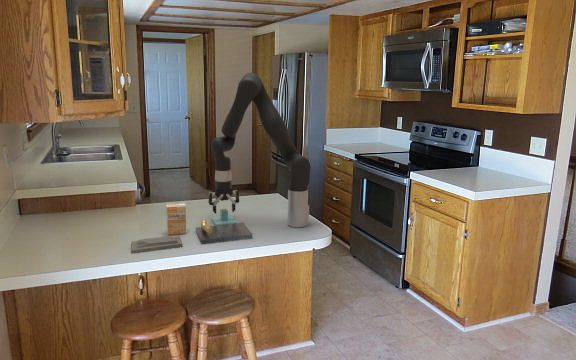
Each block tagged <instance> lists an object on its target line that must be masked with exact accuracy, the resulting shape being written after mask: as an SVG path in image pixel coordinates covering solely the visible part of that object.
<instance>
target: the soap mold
mask: <svg viewBox="0 0 576 360" xmlns="http://www.w3.org/2000/svg"><path fill="white" fill-rule="evenodd" d="M130 246H131V247H132V248H131V254H132V253H134V254H141V252H142V253H149V252H155V251H163V250H165V251H166V250H172V249H173V248H174V249H179V248H180V247H181V248H183V247H184V246H183V241H182V238H181V236H179V235H178V236H172V235H166V236H159V237H150V238H140V239H138V240H134V241H131V242H130ZM181 248H180V249H181Z"/></svg>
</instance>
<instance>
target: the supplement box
mask: <svg viewBox="0 0 576 360" xmlns="http://www.w3.org/2000/svg"><path fill="white" fill-rule="evenodd" d="M186 208H187V207H186V203H184V202H183V203H167V204H166V228H167V230H166V231H167V236H174V235H186V234H187V211H186V210H187V209H186Z"/></svg>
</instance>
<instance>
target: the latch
mask: <svg viewBox="0 0 576 360" xmlns="http://www.w3.org/2000/svg"><path fill="white" fill-rule="evenodd" d="M210 226H211V225H209V223H208V222H207V220H206V219H202V220H201V219H200V227H201V230H202V231H206V232H207V233H212V228H211V227H210Z"/></svg>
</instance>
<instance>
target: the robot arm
mask: <svg viewBox="0 0 576 360" xmlns="http://www.w3.org/2000/svg"><path fill="white" fill-rule="evenodd" d="M252 102H253V103H254V106H255V107H256V110H257V113H258V116H259V120H260V123H261V125H262V128H263V130H264V131H265V133H266V135H267V136H268V137H269V139H270V140H271V142H272V143H273V145H274V146H275V148H277V150H278V152H279V153H280V156H281V157H282V159H283V162H284V164H285V166H286V169H287V170H288V172H290V182H289V183H288V185H287V225H288V226H289V227H291V228H305V227H307V226H309V225H310V205H309V204H308V203H309V201H308V199H309V185H310V181H311V163H310V162H311V161H310V160H309V159H308V158H307V157H305V156H304V155H302V154H301V153H300V152H299V150H297V148H296V146H295V145H294V143H293V141H292V138H291V133H290V131H289V128H288V126H287V124H286V122H285V121H284V118H283V117H282V116H281V114H280V112H279V111H278V109H277V108H276V106H275V104H274V103H273V101H272V100H271V98H270V96H269V94H268V92H267V90H266V87H265V85H264V83H263V81H262V79H261V78H260V76H259V75H257V74H256V73H253V72H248V73H246V74H244V75H243V76H242V78H241V79H240V80H239V81H238V86H237V89H236V93H235V97H234V100H233V103H232V106H231V108H230V109H229V112H228V114H227V115H226V118H225V120H224V122H223V124H222V126H221V129H220V130H221V134H223V136H218V137H214V138H213V139H212V141H211V144H210V145H211V146H210V147H211V152H212V155H213V158H214V161H215V162H214V165H215V173H214V174H215V175H214V181H215V183H214V184H215V190H214V192H213V191H208V204H209V206H212V212H213V213H214V214H217V204H218V203H219V202H220V201H221V202H222V201H223V202H224V201H228V200H229V201H230V203H231V212H232V213H234V212H235V211H236V204H239V203H240V194H239V190H238V189H234V190H233V187H232V184H233V183H232V179H233V178H232V168H231V166H232V165H231V158H230V157H229V156H225V153H224V152H229V151H231V150H233V148H234V146H235V144H236V136H237V132H238V130H239V129H240V126H241V124H242V122H243V120H244V116H245V114H246V111H247V109H248V107H249V106H250V104H252ZM232 195H234V196H235V199H233V198H232V197H231V196H232ZM214 196H216V197H215V198H214V200H213V197H214Z"/></svg>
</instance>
